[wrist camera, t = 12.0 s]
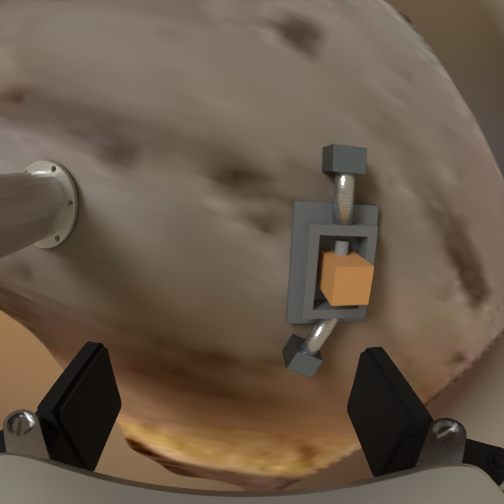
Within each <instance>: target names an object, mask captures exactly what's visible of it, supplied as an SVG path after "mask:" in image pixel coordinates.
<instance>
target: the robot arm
mask: <svg viewBox="0 0 504 504" xmlns="http://www.w3.org/2000/svg"><path fill="white" fill-rule="evenodd" d="M72 202H73V203H72ZM77 212H78V197H77V191H76V188H75V184H74V182H73V180H72V178H71V176H70V174H69V173H68V172H67V170H66V169H65V168H64V167H63V166H62V165H60V164H58V163H57V162H55V161H51V160H40V161H36V162H33V163H31V164H30V165H29V166H27V167H26V168H25V169H24V170H23V171H22V173H10V174H0V258H2V257H5V256H7V255H9V254H11V253H13V252H16V251H18V250H20V249H22V248H25V247H27V246H29V245H33V246H35V247H38V248H43V249H47V248H52V247H55V246H57V245H59V244H60V243H62V242H63V241H64V240H65V239H67V237H68V236H69V235H70V233H71V232H72V229H73V227H74V225H75V222H76V218H77ZM37 409H38V410H37V411H36V413H33V412H32V411H29V410H17V411H14V412H12V413H10V414H9V415H8V416H7V417H6V418H5V420H4V422H3V430H1V431H0V504H504V448H501V447H497V446H492V445H489V444H485V443H481V442H477V441H474V440H471V439H467V438H466V437H467V436H466V430H465V428H464V426H463V425H462V424H461V423H460V422H458V421H457V420H454V419H452V418H439V419H436V420H433V419H432V417H431V415H430V414H429V413H428V411H427V409H426V408H425V406H424V405H423V403H422V402H421V401H420V399H419V398H418V396H417V395H416V393H415V392H414V391H413V389H412V388H411V386H410V385H409V384H408V382H407V381H406V379H405V378H404V377H403V375H402V374H401V372H400V371H399V370H398V368H397V367H396V365H395V364H394V363H393V361H392V360H391V359H390V357H389V356H388V354H387V353H386V352H385V350H384V349H383V348H382V347H371V348H366V350H365V352H362V353H361V355H360V359H359V363H358V367H357V371H356V375H355V379H354V383H353V387H352V390H351V394H350V398H349V401H348V405H347V411H348V414H349V417H350V419H351V422H352V424H353V426H354V429H355V431H356V434H357V436H358V439H359V441H360V444H361V446H362V449H363V451H364V454H365V456H366V459H367V461H368V464H369V467H370V469H371V472H372V474H373V476H374V477H373V478H368V479H363V480H357V481H352V482H346V483H340V484H334V485H327V486H320V487H312V488H303V489H291V490H274V491H214V490H199V489H187V488H178V487H169V486H162V485H155V484H149V483H143V482H137V481H132V480H127V479H122V478H117V477H113V476H109V475H105V474H101V473H96V472H93V471H94V470H95V468H96V466H97V463H98V461H99V458H100V456H101V454H102V451H103V449H104V446H105V444H106V442H107V439H108V437H109V434H110V432H111V430H112V427H113V425H114V423H115V421H116V418H117V416H118V414H119V412H120V409H121V398H120V395H119V392H118V388H117V385H116V381H115V377H114V373H113V369H112V365H111V361H110V357H109V353H108V350H107V348H105V347H104V346H103V344H101V343H95V342H87V343H86V344H85V345H84V346H83V348H82V349H81V350H80V351H79V353H78V354H77V355H76V356H75V358H74V359H73V360H72V361H71V363H70V364H69V365H68V367H67V368H66V369H65V370H64V372H63V373H62V374H61V376H60V377H59V378H58V380H57V381H56V382H55V384H54V385H53V386H52V388H51V389H50V390H49V392H48V393H47V394H46V396H45V397H44V399H43V400H42V401H41V403H40V404H39V406H38V407H37Z"/></svg>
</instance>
